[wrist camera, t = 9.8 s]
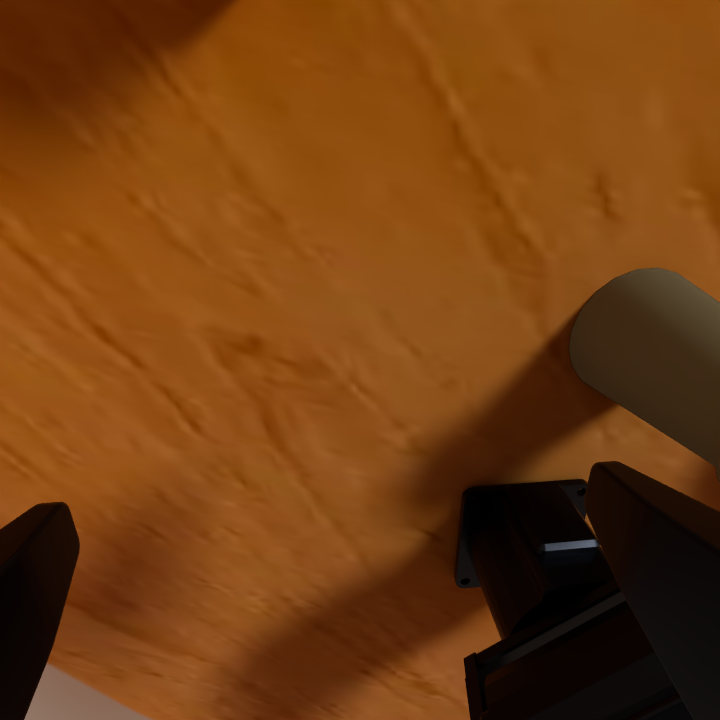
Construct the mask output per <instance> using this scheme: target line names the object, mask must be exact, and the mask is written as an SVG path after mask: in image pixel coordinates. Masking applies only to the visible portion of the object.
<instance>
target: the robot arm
mask: <svg viewBox="0 0 720 720" xmlns="http://www.w3.org/2000/svg"><path fill="white" fill-rule="evenodd" d="M581 488H582V489H581ZM579 489H581V490H579ZM578 490H579V491H578ZM472 497H476V498H474V499H471V498H472ZM586 513H587V516H588V518H589V520H590V522H591V525H592V527H593V529H594V532H595V534H596V535H595V534H594V532H593V531H592V529H591V528H590V527H589V525H588V524H587V522H586V521H585V516H586ZM596 536H597V537H596ZM600 545H601V547H602V548H601V547H600ZM79 549H80V543H79V537H78V534H77V531H76V528H75V525H74V521H73V518H72V515H71V512H70V509H69V507H68V505H67V504H66V503H63V502H52V503H41V504H37V505H35V506H33V507H32V508H31V509H29V510H28V511H26V512H25V513H23V514H22V515H20V516H19V517H17V518H16V519H15V520H13V521H12V522H10V523H9V524H7V525H6V526H4V527H3V528H2V529H0V720H24V719H25V716H26V714H27V711H28V709H29V706H30V703H31V701H32V698H33V696H34V693H35V691H36V688H37V686H38V683H39V681H40V678H41V675H42V673H43V671H44V668H45V666H46V663H47V660H48V658H49V655H50V652H51V650H52V647H53V644H54V641H55V637H56V634H57V631H58V627H59V624H60V620H61V617H62V613H63V609H64V606H65V602H66V598H67V595H68V591H69V588H70V584H71V580H72V577H73V573H74V570H75V566H76V562H77V559H78V555H79ZM454 578H455V581H456V584H457V586H458V587H460V588H470V587H481V588H482V591H483V593H484V596H485V598H486V601H487V604H488V606H489V609H490V611H491V614H492V617H493V619H494V622H495V624H496V627H497V630H498V632H499V635H500V637H501V641H499V642H497V643H496V644H494V645H492V646H490V647H488V648H487V649H485V650H483V651H481V652H479V653H477V654H476V653H475V652H474V653H473V654H471V655H469V656H467V657H465V658H464V666H465V674H466V678H465V682H466V689H467V697H468V704H469V712H470V719H471V720H720V512H719V511H717V510H715V509H713V508H711V507H709V506H707V505H705V504H703V503H701V502H699V501H697V500H695V499H693V498H691V497H689V496H687V495H685V494H683V493H681V492H679V491H677V490H675V489H673V488H671V487H669V486H667V485H664V484H662V483H660V482H658V481H656V480H654V479H652V478H650V477H648V476H646V475H644V474H642V473H640V472H638V471H636V470H634V469H632V468H630V467H628V466H626V465H624V464H622V463H620V462H617V461H610V462H598V463H595V464H594V465H593V466H592V468H591V471H590V476H589V480H588V483H587V482H586V481H585V480H583V479H575V480H562V481H549V482H536V483H522V484H509V485H496V486H483V487H472V488H469V489H467V490H465V492H464V493H463V495H462V504H461V514H460V524H459V533H458V543H457V553H456V563H455V573H454ZM463 578H464V579H463Z"/></svg>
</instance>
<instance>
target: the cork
mask: <svg viewBox="0 0 720 720" xmlns="http://www.w3.org/2000/svg"><path fill="white" fill-rule="evenodd" d="M569 353H570V357H571V362H572V366H573V368H574V370H575V371H576V373H577V374H578V376H579V377H580V378H581V380H582V381H583V382H585V383H586V384H588V385H589V386H591V387H592V388H594V389H596V390H597V391H599V392H600V393H602V394H603V395H605V396H606V397H608V398H610V399H611V400H613V401H614V402H616V403H617V404H619V405H620V406H622V407H624V408H625V409H627V410H628V411H630V412H631V413H633V414H635V415H636V416H638V417H639V418H641V419H642V420H644V421H645V422H647V423H649V424H650V425H652V426H653V427H655V428H656V429H658V430H659V431H661V432H663V433H664V434H666V435H667V436H669V437H670V438H672V439H673V440H675V441H677V442H678V443H680V444H681V445H683V446H684V447H686V448H688V449H689V450H691V451H692V452H694V453H695V454H697V455H698V456H700V457H702V458H703V459H705V460H706V461H708V462H709V463H711V464H712V465H714V466H716V475H717V479H718V480H719V482H720V302H718V301H717V300H715V299H714V298H712V297H711V296H710V295H708V294H707V293H705V292H704V291H702V290H701V289H700V288H698V287H697V286H695V285H694V284H692V283H691V282H690V281H688V280H687V279H685V278H684V277H682V276H681V275H680V274H678V273H676V272H672V271H669V270H665V269H661V268H649V269H637V270H634V271H632V272H629V273H627V274H624V275H621V276H619V277H616V278H614V279H613V280H612V281H610V282H609V283H608V284H606V285H605V286H603V287H602V288H601V289H599V290H598V291H597V292H595V294H594V295H593V296H592V297H591V298H590V300H589V301H588V302H587V303H586V304H585V306H584V307H583V308H582V309H581V311H580V313H579V315H578V317H577V319H576V322H575V324H574V326H573V328H572V331H571V338H570V345H569Z"/></svg>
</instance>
